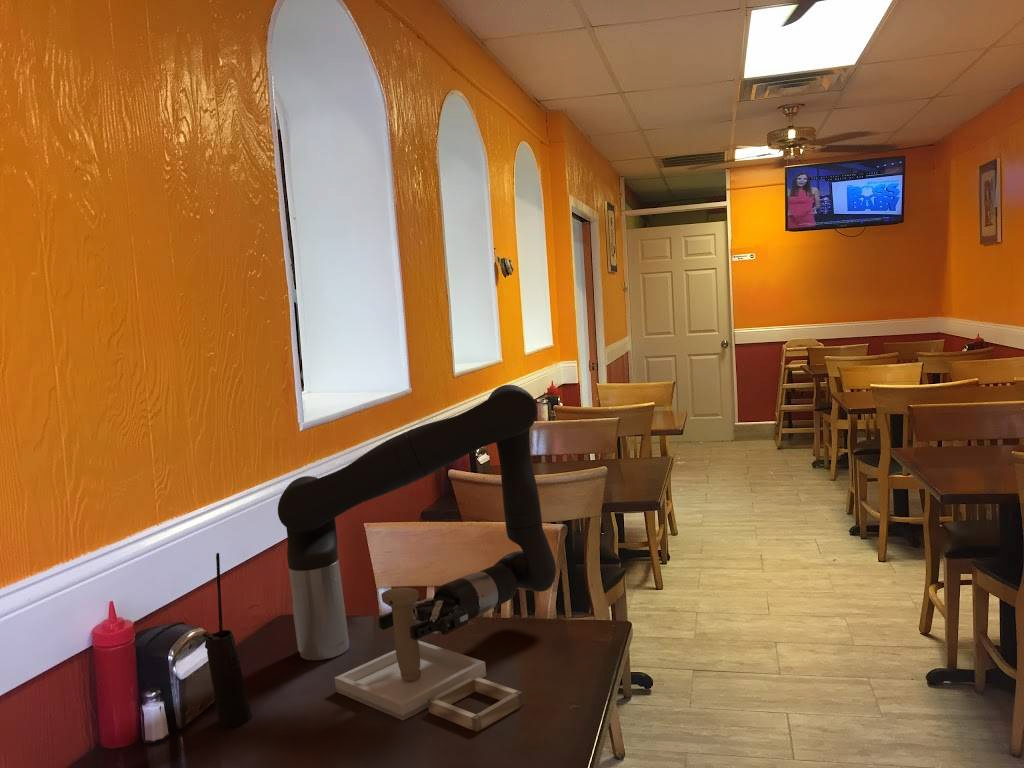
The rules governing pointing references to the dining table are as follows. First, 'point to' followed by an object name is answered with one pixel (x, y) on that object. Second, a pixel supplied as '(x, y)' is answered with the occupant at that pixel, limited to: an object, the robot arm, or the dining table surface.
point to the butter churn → (226, 672)
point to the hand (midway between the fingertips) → (395, 628)
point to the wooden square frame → (477, 722)
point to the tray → (404, 699)
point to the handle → (404, 630)
